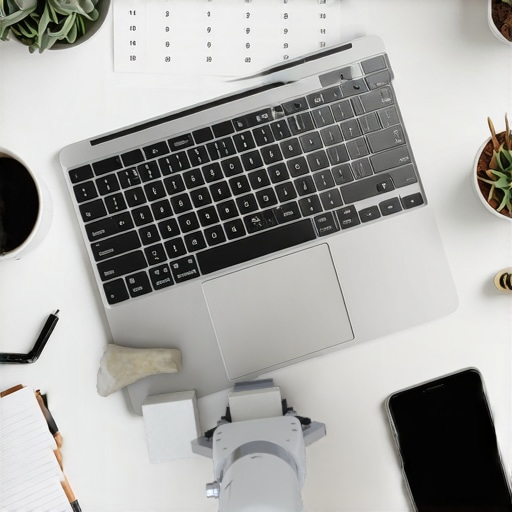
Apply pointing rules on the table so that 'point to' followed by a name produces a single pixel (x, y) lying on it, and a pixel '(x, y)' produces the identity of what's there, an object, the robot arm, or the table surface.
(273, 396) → the white book
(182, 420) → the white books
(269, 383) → the grey-blue block
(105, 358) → the stone
